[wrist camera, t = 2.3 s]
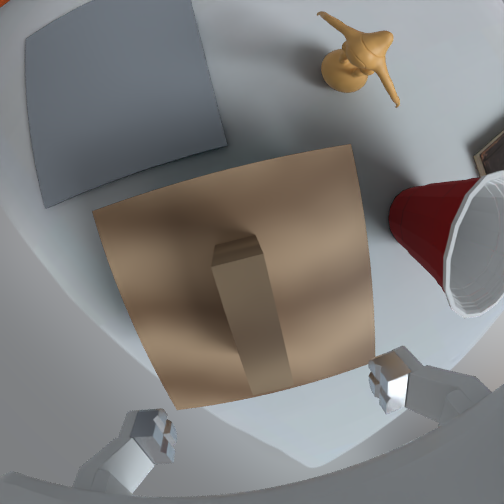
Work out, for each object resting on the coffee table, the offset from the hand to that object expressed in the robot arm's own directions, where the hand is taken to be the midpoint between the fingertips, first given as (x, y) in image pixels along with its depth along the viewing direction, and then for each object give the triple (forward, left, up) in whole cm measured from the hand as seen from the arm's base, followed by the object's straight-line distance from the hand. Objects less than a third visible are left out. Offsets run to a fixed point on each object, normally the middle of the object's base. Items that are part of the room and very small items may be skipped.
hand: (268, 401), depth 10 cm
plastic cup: (0, +17, -17) cm, 24 cm away
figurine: (-14, +11, -17) cm, 25 cm away
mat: (-20, -8, -17) cm, 27 cm away
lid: (0, 0, -10) cm, 10 cm away
